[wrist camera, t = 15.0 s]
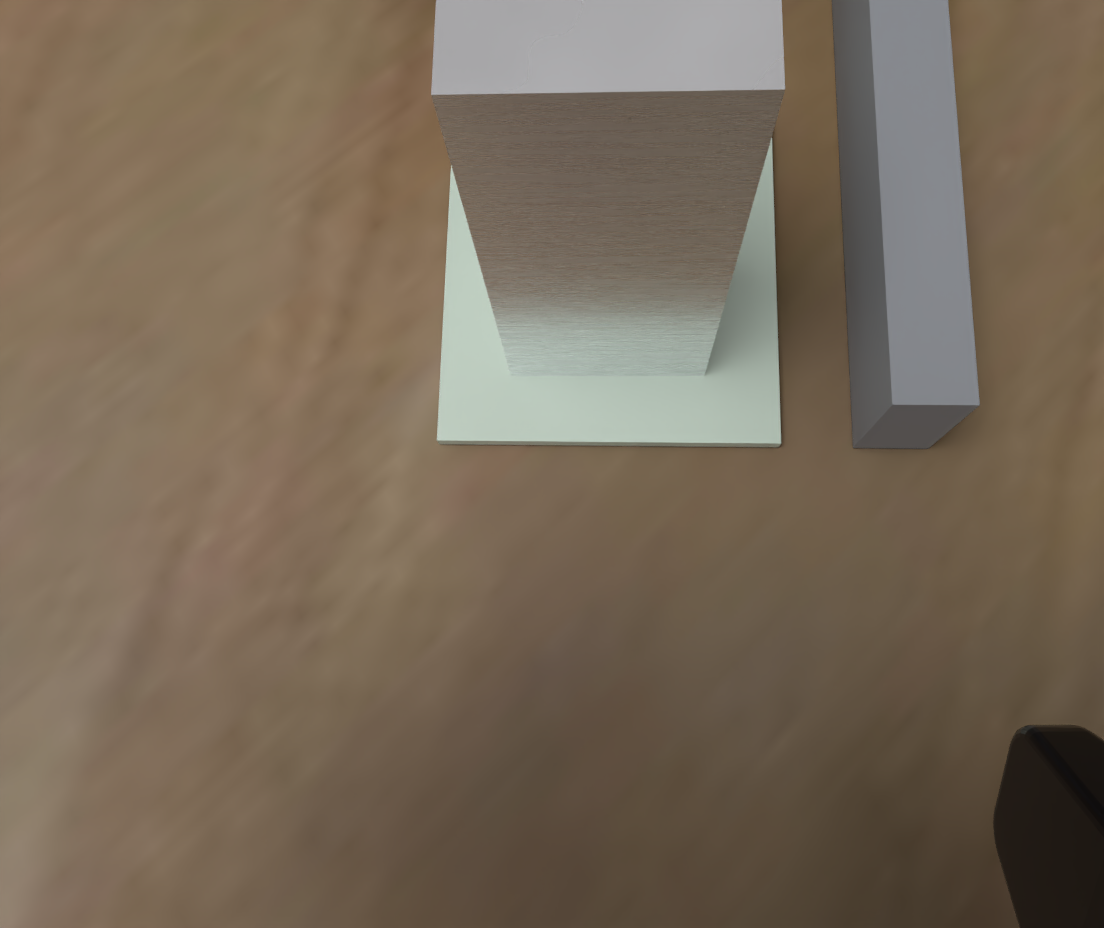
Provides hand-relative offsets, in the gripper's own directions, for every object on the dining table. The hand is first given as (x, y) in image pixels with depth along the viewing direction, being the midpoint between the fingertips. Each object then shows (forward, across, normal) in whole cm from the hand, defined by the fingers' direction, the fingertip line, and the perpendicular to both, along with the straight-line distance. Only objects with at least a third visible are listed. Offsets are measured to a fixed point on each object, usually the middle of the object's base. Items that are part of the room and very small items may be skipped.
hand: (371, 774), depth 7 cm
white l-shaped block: (+17, -2, 0) cm, 17 cm away
